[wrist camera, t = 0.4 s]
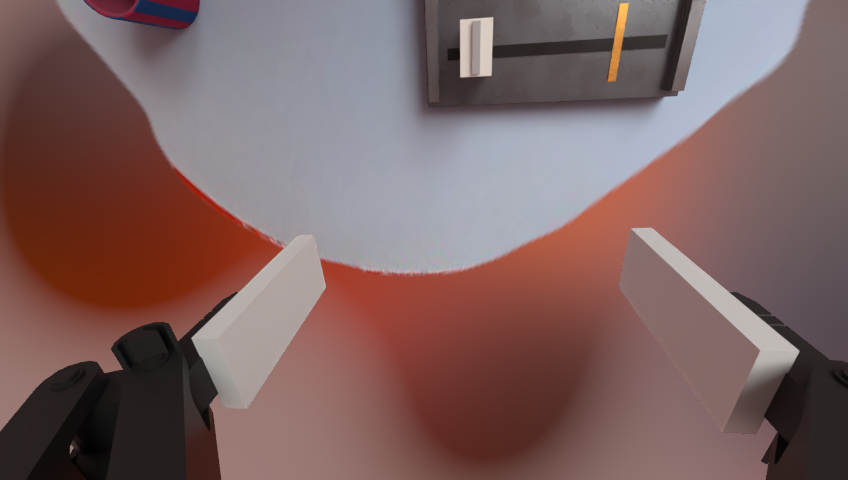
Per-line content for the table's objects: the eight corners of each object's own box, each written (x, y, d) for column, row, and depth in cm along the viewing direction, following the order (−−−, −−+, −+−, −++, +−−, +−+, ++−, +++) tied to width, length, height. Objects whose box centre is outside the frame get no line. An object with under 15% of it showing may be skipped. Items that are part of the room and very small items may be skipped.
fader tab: (460, 28, 31) (460, 18, 26) (489, 26, 30) (493, 16, 26) (460, 77, 32) (460, 77, 28) (487, 76, 32) (491, 75, 27)
